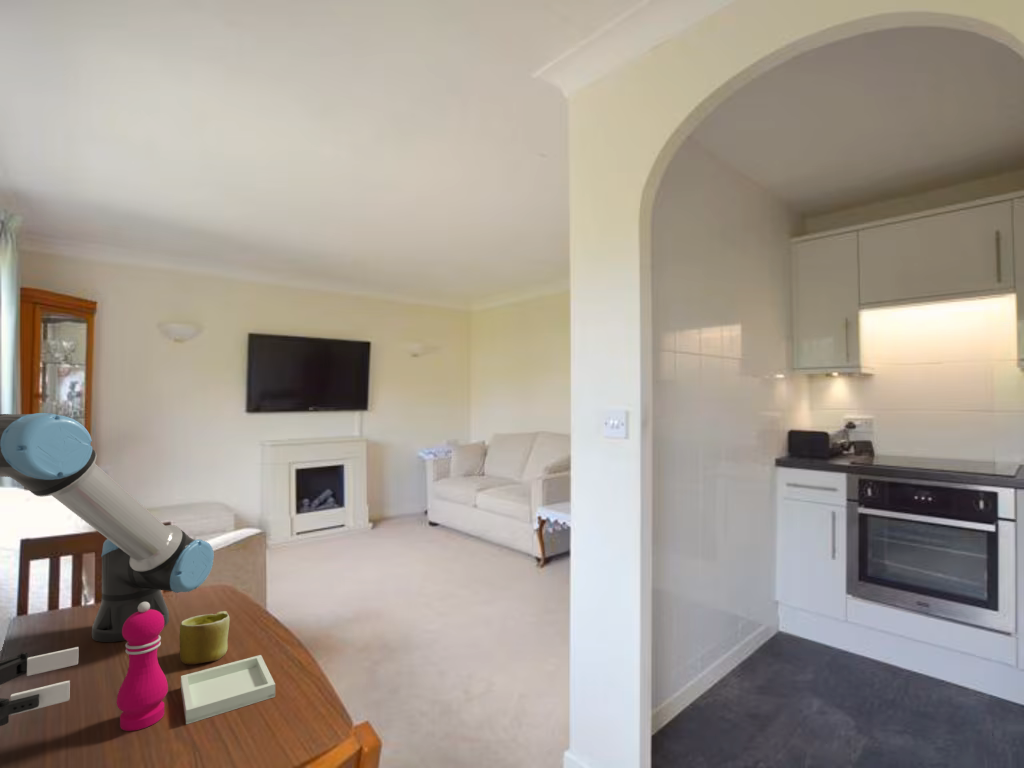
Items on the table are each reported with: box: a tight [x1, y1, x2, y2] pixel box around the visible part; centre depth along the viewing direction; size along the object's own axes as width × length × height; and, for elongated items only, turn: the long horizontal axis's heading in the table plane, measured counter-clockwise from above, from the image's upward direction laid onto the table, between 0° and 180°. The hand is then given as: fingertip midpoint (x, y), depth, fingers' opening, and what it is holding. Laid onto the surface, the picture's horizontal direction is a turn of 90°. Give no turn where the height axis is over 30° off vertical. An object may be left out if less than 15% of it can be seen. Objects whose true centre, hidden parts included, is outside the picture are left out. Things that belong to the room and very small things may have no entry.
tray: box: [180, 654, 276, 725], centre depth 99 cm, size 14×14×2 cm
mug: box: [178, 610, 231, 665], centre depth 114 cm, size 12×10×10 cm
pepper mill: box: [116, 602, 169, 732], centre depth 91 cm, size 7×7×20 cm
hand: (74, 671), depth 85 cm, fingers open, 13 cm apart
